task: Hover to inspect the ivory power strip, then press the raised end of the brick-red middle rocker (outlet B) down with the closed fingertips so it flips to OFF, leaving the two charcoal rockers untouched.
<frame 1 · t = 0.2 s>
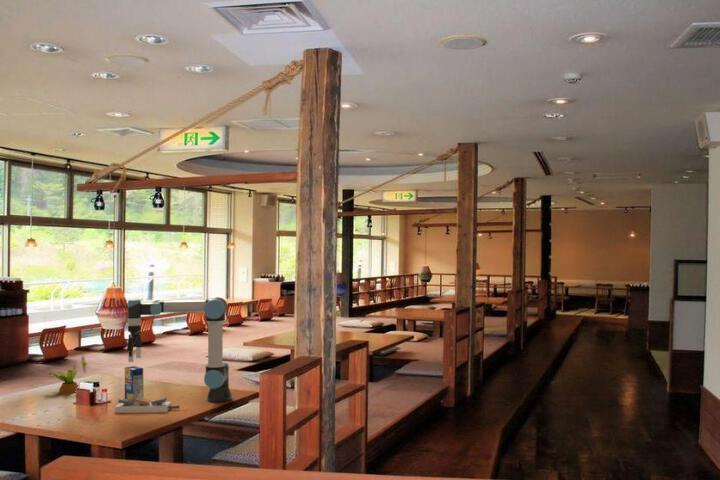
hand: (134, 360, 409), 28 cm above the table, fingers open, 13 cm apart
power strip: (143, 410, 399), on the table
beverage box: (134, 403, 415), on the table
rocker A: (158, 400, 397), point 6 cm above the table, hinge at 12.0°
rocker B: (142, 401, 397), point 6 cm above the table, hinge at -12.0°
decorative plant: (68, 391, 452), on the table
rocker C: (126, 401, 397), point 6 cm above the table, hinge at -12.0°
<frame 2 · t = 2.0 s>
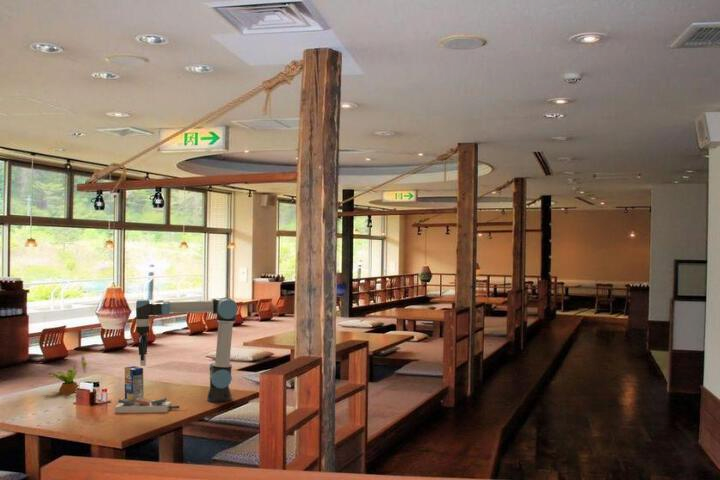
hand: (143, 365, 399), 26 cm above the table, fingers closed
nothing on the table moved.
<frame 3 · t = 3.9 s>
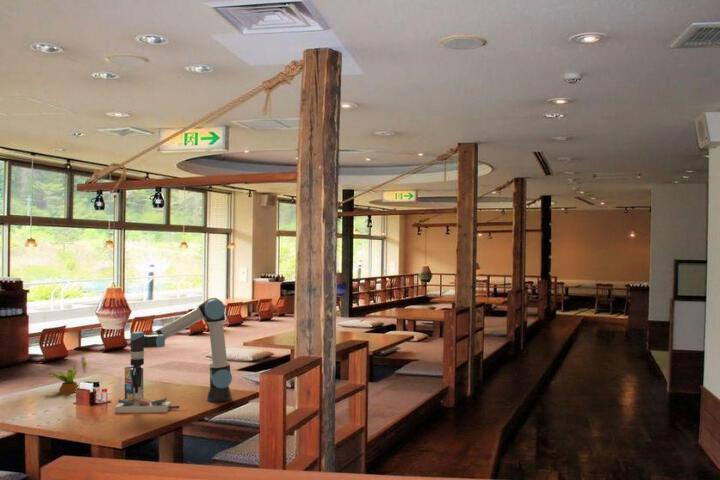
hand: (137, 398, 397), 7 cm above the table, fingers closed
rocker B: (142, 401, 397), point 6 cm above the table, hinge at -11.8°, touching gripper
everything else where it was.
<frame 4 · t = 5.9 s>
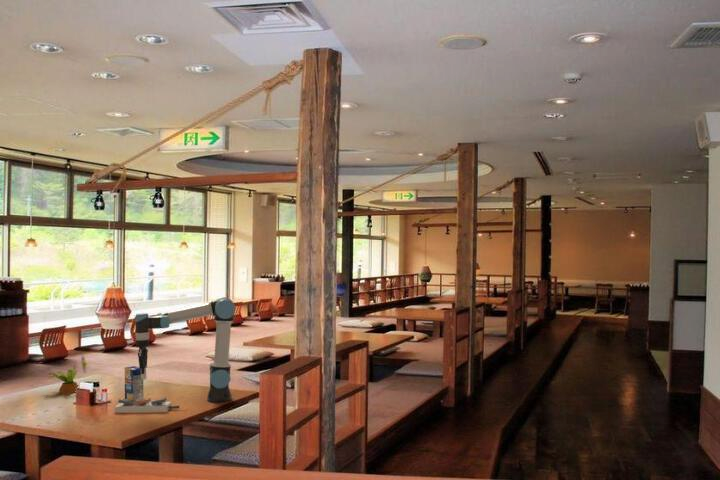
hand: (143, 379, 401), 18 cm above the table, fingers closed
rocker B: (142, 401, 397), point 6 cm above the table, hinge at 7.9°
everything else where it was.
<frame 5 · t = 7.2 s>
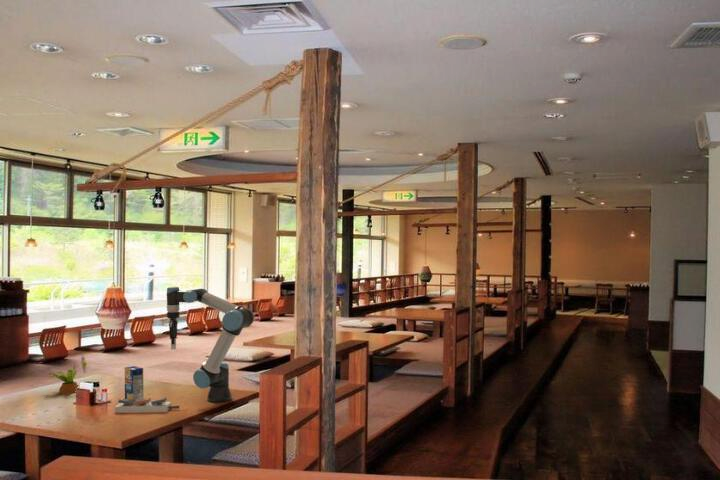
hand: (173, 349, 422), 32 cm above the table, fingers closed
rocker B: (142, 401, 397), point 6 cm above the table, hinge at 9.1°
everything else where it was.
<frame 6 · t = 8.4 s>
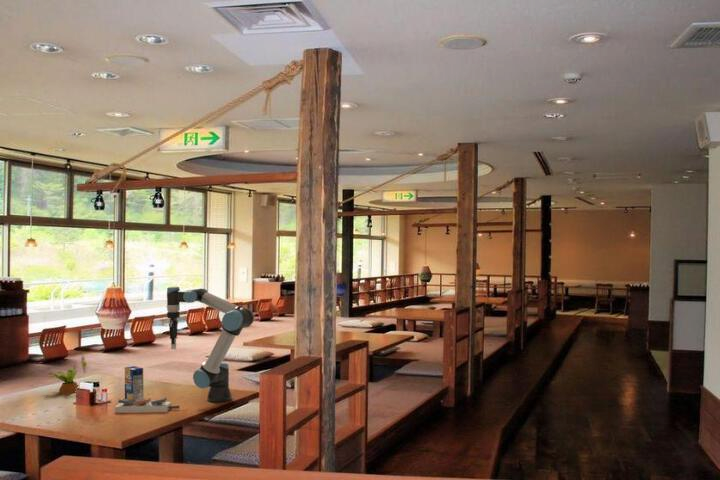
hand: (173, 349, 422), 32 cm above the table, fingers closed
nothing on the table moved.
at the end: rocker B at +9° (first picture: -12°); rocker C at -12° (first picture: -12°); rocker A at +12° (first picture: +12°) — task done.
